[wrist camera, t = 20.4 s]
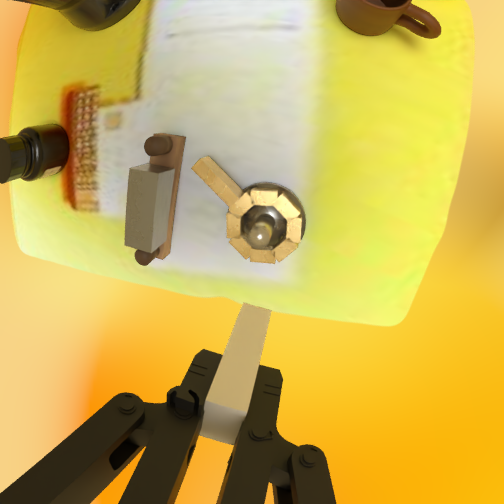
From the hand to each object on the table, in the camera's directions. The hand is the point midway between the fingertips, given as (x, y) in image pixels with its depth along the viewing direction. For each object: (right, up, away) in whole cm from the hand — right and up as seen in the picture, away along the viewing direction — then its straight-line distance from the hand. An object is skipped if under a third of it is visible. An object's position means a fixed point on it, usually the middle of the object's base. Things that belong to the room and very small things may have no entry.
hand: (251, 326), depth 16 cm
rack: (-12, +12, +24) cm, 30 cm away
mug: (+16, +33, +10) cm, 38 cm away
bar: (-12, +10, +22) cm, 28 cm away
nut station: (+2, +8, +23) cm, 25 cm away
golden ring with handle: (-1, +10, +21) cm, 24 cm away
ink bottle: (-34, +22, +25) cm, 47 cm away
